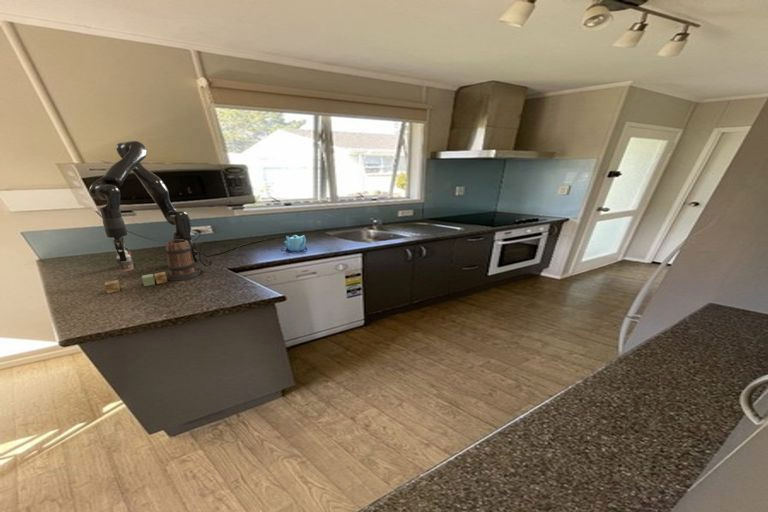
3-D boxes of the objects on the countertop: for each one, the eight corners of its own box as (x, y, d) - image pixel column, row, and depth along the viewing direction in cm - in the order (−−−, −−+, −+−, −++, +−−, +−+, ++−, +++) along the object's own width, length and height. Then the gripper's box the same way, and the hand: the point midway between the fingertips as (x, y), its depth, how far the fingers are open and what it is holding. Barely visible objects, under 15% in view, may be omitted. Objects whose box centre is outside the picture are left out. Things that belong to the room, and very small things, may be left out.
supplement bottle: (126, 267, 174) (121, 250, 170) (118, 266, 175) (113, 249, 171) (136, 264, 180) (131, 247, 176) (128, 263, 181) (124, 246, 177)
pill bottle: (119, 269, 145) (113, 251, 142) (132, 266, 149) (127, 248, 146) (121, 272, 141) (115, 253, 138) (135, 269, 145) (129, 251, 142)
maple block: (166, 279, 159) (165, 271, 157) (167, 281, 155) (165, 274, 154) (156, 281, 156) (154, 273, 154) (156, 284, 152) (154, 276, 151)
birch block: (120, 288, 147) (117, 279, 145) (119, 291, 144) (117, 282, 142) (108, 290, 144) (105, 282, 143) (107, 293, 141) (104, 285, 139)
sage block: (154, 281, 155) (152, 273, 154) (155, 284, 152) (153, 276, 151) (144, 283, 153) (141, 275, 151) (144, 286, 149) (141, 278, 148)
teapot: (306, 251, 211) (305, 237, 208) (285, 252, 208) (283, 238, 204) (306, 245, 225) (306, 232, 222) (287, 246, 222) (285, 233, 219)
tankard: (167, 282, 154) (159, 247, 148) (164, 273, 166) (156, 240, 160) (216, 272, 169) (210, 240, 163) (209, 265, 181) (204, 234, 174)
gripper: (124, 228, 135) (133, 261, 140) (125, 223, 146) (134, 254, 151) (102, 230, 130) (113, 265, 136) (105, 224, 141) (115, 257, 146)
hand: (124, 259), depth 143 cm, fingers closed on pill bottle, 5 cm apart
